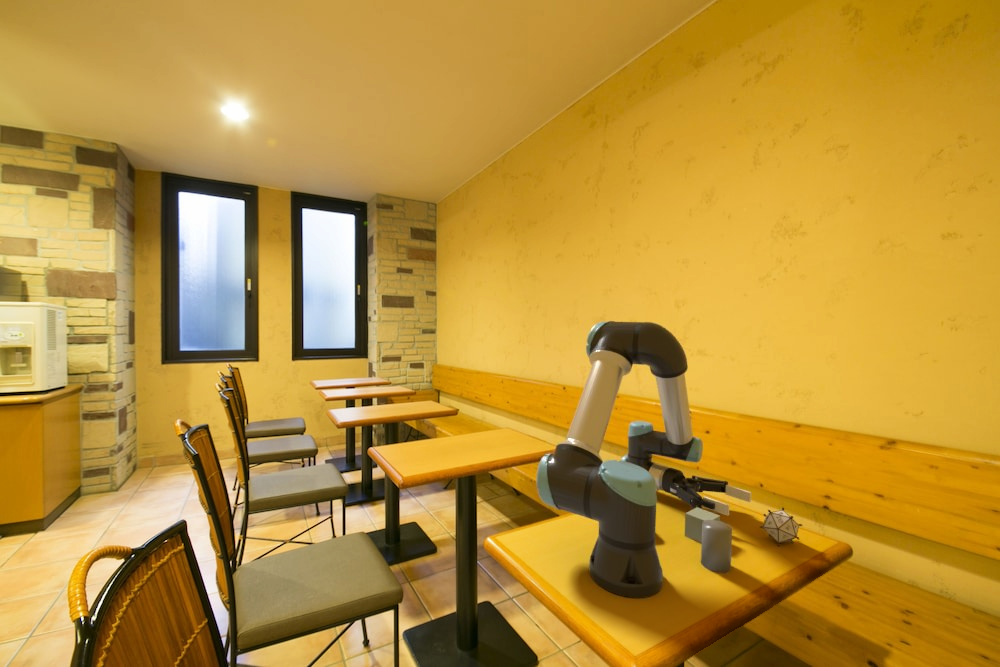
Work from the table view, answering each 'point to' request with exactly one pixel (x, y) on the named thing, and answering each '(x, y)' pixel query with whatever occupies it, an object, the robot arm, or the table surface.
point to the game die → (781, 526)
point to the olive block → (697, 522)
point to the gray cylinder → (716, 546)
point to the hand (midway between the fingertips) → (740, 503)
